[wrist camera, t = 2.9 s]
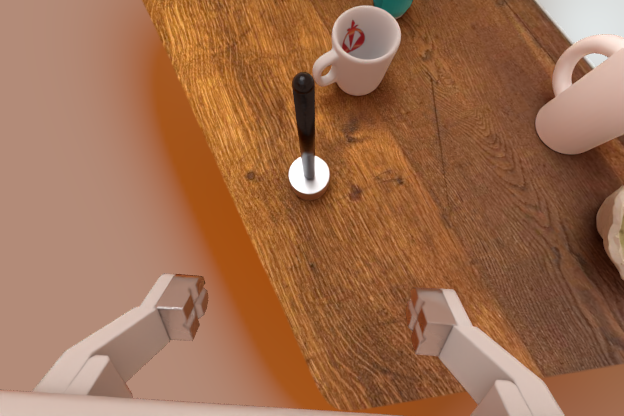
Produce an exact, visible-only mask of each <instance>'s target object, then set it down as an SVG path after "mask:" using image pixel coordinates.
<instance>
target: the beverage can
mask: <svg viewBox="0 0 624 416" xmlns="http://www.w3.org/2000/svg"><path fill="white" fill-rule="evenodd" d="M412 1H413V0H373V2H374V7H378V8H381V9H383V10H385V11H387V12H388V13H389V14H391V15H392V16H393V17H394V18H395V19H398V18H400V17H401V16H402V15H403V14H404V13H405V12H406V11H407V9H408V8H409V7H410V5H411V4H412Z"/></svg>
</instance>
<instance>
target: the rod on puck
mask: <svg viewBox="0 0 624 416" xmlns="http://www.w3.org/2000/svg"><path fill="white" fill-rule="evenodd" d="M292 87H293V95H294V104H295V112H296V120H297V128H298V136H299V144H300V152H301V157H299V158H298V159H296V160H295V161H294V162H293V163H292V165H291V166H290V169H289V174H288V176H289V181H290V185H291V188H292V190H293V192H294V193H295V194H296V195H297V196H298V197H299V198H301V199H304V200H315V199H318V198H320V197H321V196H323V195H324V194H325V192H326V191H327V189H328V185H329V179H330V171H329V168H328V165H327V164H326V163H325V161H324V160H322V159H321V158H319V157H317V156H315V85H314V79H313V77H312V76H311V75H310V74H309V73H306V72H300V73H298V74H297V75H295V77H294V78H293V81H292Z"/></svg>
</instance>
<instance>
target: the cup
mask: <svg viewBox="0 0 624 416" xmlns="http://www.w3.org/2000/svg"><path fill="white" fill-rule="evenodd" d="M400 41H401V31H400V27H399V25H398V23H397V21H396V20H395V18H394V17H393V16H392V15H391V14H389V13H388V12H387V11H385V10H383V9H381V8H378V7H374V6H357V7H354V8H351V9H349V10H347V11H345V12H344V13H343V14H341V15H340V16H339V18H338V19H337V20H336V22H335V24H334V26H333V30H332V50H331V51H329V52H327V53H325V54H324V55H322V56H321V57H319V58H318V59H317V60H316V62H315V63H314V66H313V77H314V79H315V82H316V83H317V84H318V85H319V86H327V85H330V84H332V83H334V82H337V84H338V86H339V87H340V88H341V89H342V90H343V91H344V92H346V93H348V94H350V95H355V96H361V95H366V94H368V93H370V92H372V91H373V90H375V89H376V88H377V87H378V85H379V84H380V82H381V81H382V79H383V77H384V75H385V73H386V71H387V69H388V67H389V65H390V63H391V61H392V59H393V57H394V55H395V53H396V51H397V49H398V47H399V45H400ZM330 65H332V68H331V70H330V72H329V73H328V74H327V75H325V76H322V77H321V73H322V71H323V70H324V69H325V68H326V67H328V66H330Z"/></svg>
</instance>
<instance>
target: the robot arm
mask: <svg viewBox="0 0 624 416" xmlns="http://www.w3.org/2000/svg"><path fill="white" fill-rule="evenodd" d="M204 284H205V281H204V278H203V277H202V276H193V275H182V274H167V273H164V274H162V275H161V276H160V277H159V278H158V280H157V281H156V283H155V284H154V286H153V287H152V288H151V290H150V292H149V293H148V294H147V296H146V297H145V299H144V300H143V302H142V303H141V305H140V306H139V307H135V308H133V309H131V310H130V311H128V312H126V313H125V314H123V315H122V316H120V317H118V318H117V319H115V320H114V321H112V322H110V323H109V324H108V325H106V326H104V327H103V328H101V329H100V330H98V331H96V332H95V333H93V334H91V335H90V336H89V337H87V338H85V339H84V340H82V341H81V342H79V343H77V344H76V345H74V346H73V347H71V348H69V349H68V350H66V351H65V352H64V353H63V354H62V355H61V356H60V358H59V359H58V360H57V361H56V363H55V364H54V365H53V366H52V367H51V369H50V370H49V371H48V372H47V374H46V375H45V376H44V377H43V378H42V380H41V381H40V382H39V383H38V385H37V386H36V387H35V388H34V390H33V391H32V392H29V391H14V390H13V391H12V390H0V416H400V415H385V414H369V413H355V412H340V411H324V410H309V409H293V408H278V407H262V406H247V405H246V406H245V405H230V404H215V403H200V402H184V401H169V400H153V399H138V398H133V396H132V393H131V391H130V390H129V388H128V386H127V385H126V382H127V381H128V380H129V379H130V378H131V377H132V376H133V375H134V374H136V373H137V372H138V371H139V370H140V369H141V368H142V367H143V366H144V365H145V364H146V363H147V362H148V361H150V360H151V359H152V358H153V357H154V356H155V355H156V354H157V353H158V352H159V351H160V350H161V349H163V348H164V347H165V346H166V345H167V344H168V343H169V342H170V340H187V341H193V339H194V337H195V334H196V332H197V330H198V327H199V321H198V319H199V318H200V317H202V316H203V315H204V313H205V311H206V309H207V304H208V293H207V290H206V289H205V288H203V286H204ZM410 297H411V300H409V301H408V302H407V305H406V313H405V315H406V322H407V326H408V327H409V328H410V329H411V330H412V331H413V332H412V335H411V340H412V344H413V347H414V351H415V354H420V355H431V356H439V359H440V360H441V361H442V362H443V363H444V365H445V366H446V367H447V368H448V369H449V371H450V372H451V373H452V374H453V375H454V377H455V378H456V379H457V380H458V381H459V383H460V384H461V385H462V386H463V387H464V388H465V390H466V391H467V392H468V393H469V394H470V395H471V397H472V398H473V399H474V400H475V402H476V403H477V404H478V406H477V407H476V409H475V410H474V411H473V413H472V414H471V416H565V415H564V414H563V412H562V411H561V409H560V407H559V406H558V404H557V402H556V401H555V399H554V397H553V396H552V394H551V393H550V391H549V389H548V388H547V386H546V385H545V383H544V382H543V381H542V380H541V379H540V378H539V377H538V376H536V375H535V374H534V373H533V372H531V371H530V370H529V369H528V368H527V367H525V366H524V365H523V364H522V363H520V362H519V361H518V360H517V359H516V358H514V357H513V356H512V355H511V354H509V353H508V352H507V351H506V350H505V349H503V348H502V347H501V346H500V345H498V344H497V343H496V342H495V341H494V340H492V339H491V338H490V337H489V336H487V335H486V334H485V333H484V332H483V331H481V330H480V329H479V328H478V327H473V326H472V324H471V322H470V320H469V318H468V316H467V314H466V312H465V310H464V308H463V306H462V304H461V302H460V300H459V298H458V296H457V294H456V292H455V291H454V290H453V289H436V288H412V289H411V292H410Z"/></svg>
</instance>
